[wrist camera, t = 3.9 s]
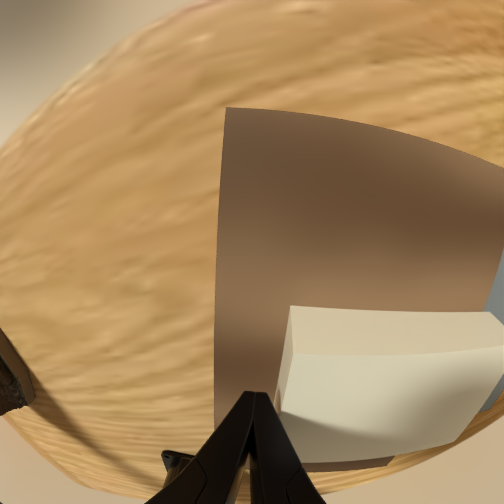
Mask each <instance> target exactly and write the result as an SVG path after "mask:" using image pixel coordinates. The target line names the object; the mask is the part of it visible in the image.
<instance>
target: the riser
mask: <svg viewBox="0 0 504 504" xmlns="http://www.w3.org/2000/svg"><path fill="white" fill-rule="evenodd" d="M503 249H504V168H502V167H499V166H497V165H495V164H493V163H490V162H488V161H485V160H483V159H481V158H478V157H476V156H473V155H470V154H468V153H465V152H462V151H460V150H457V149H454V148H451V147H448V146H445V145H442V144H439V143H436V142H433V141H430V140H427V139H423V138H420V137H416V136H413V135H409V134H406V133H402V132H398V131H394V130H390V129H386V128H382V127H377V126H373V125H368V124H364V123H359V122H354V121H348V120H343V119H337V118H331V117H325V116H318V115H311V114H304V113H296V112H287V111H277V110H265V109H251V108H230V107H226V114H225V125H224V137H223V150H222V164H221V179H220V195H219V213H218V232H217V255H216V283H215V323H214V428H215V430H216V428H217V427H218V426H219V424H220V423H221V422H222V420H223V419H224V418H225V416H226V415H227V414H228V412H229V411H230V410H231V408H232V407H233V405H234V404H235V403H236V401H237V400H238V399H239V397H240V396H241V394H242V393H243V392H244V391H255V392H266V393H268V395H269V397H270V399H271V401H272V403H273V405H274V399H275V394H276V389H277V383H278V378H279V372H280V367H281V361H282V355H283V349H284V343H285V337H286V331H287V324H288V318H289V311H290V305H292V306H305V307H319V308H335V309H353V310H376V311H406V312H483V309H484V307H485V304H486V302H487V299H488V296H489V294H490V291H491V288H492V285H493V282H494V279H495V276H496V273H497V270H498V267H499V263H500V260H501V256H502V253H503ZM394 457H395V456H388V457H382V458H374V459H365V460H355V461H343V462H321V463H302V465H303V466H302V467H304V469H305V471H306V472H333V471H348V470H359V469H368V468H375V467H382V466H387V464H388V463H389V462H390V461H391V460H392V459H393V458H394ZM245 469H248V470H250V465H249V454H248V458H247V461H246V465H245Z"/></svg>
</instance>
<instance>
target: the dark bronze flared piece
mask: <svg viewBox="0 0 504 504" xmlns="http://www.w3.org/2000/svg"><path fill="white" fill-rule="evenodd" d="M34 398H35V393H34V390H33V387H32V383H31V380H30V376H29V372H28V369H27V368H26V367H25V365H24V364H23V362H22V361H21V360H20V358H19V357H18V355H17V354H16V352H15V351H14V350H13V348H12V346H11V345H10V343H9V342H8V340H7V339H6V337H5V336H4V334H3V332H2V331H1V329H0V416H1V415H4V414H5V413H6V412H8V411H11V410H13V409H17V408H19V409H20V408H22V407H23V406H29V404H30V403H31V402H32V401H33V399H34Z"/></svg>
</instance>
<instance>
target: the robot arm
mask: <svg viewBox="0 0 504 504" xmlns="http://www.w3.org/2000/svg"><path fill="white" fill-rule="evenodd" d="M248 454H249V465H250V492H251V504H326V502H325V501H324V500H323V498H322V497H321V496H320V494H319V493H318V491H317V490H316V488H315V487H314V485H313V483H312V482H311V480H310V478H309V476H308V475H307V473H306V471H305V469H304V467H302V466H303V465H302V463H301V461H300V459H299V457H298V455H297V453H296V451H295V449H294V447H293V445H292V443H291V441H290V439H289V437H288V435H287V433H286V431H285V429H284V427H283V424H282V422H281V420H280V418H279V416H278V414H277V412H276V410H275V408H274V405H273V403H272V401H271V399H270V397H269V395H268V393H266V392H255V391H244V392H243V393H242V394H241V396H240V397H239V399H238V400H237V401H236V403H235V404H234V405H233V407H232V408H231V410H230V411H229V412H228V414H227V415H226V416H225V418H224V419H223V420H222V422H221V423H220V424H219V426H218V427H217V428H216V430H215V431H214V432H213V434H212V435H211V436H210V437H209V439H208V440H207V441H206V443H205V444H204V445H203V446H202V448H201V449H200V450H199V451H198V453H197V454H196V455H195V457H192V456H187V455H183V454H178V453H174V452H170V451H162V454H161V456H162V459H163V462H164V465H165V467H166V470H167V477H166V480H165V483H164V486H163V489H162V490H161V491H159V492H158V493H157V494H156V495H155V496H153V497H152V498H151V499H150V500H148V501H147V502H146V503H144V504H234V503H235V500H236V497H237V493H238V490H239V486H240V483H241V479H242V476H243V472H244V469H245V465H246V461H247V458H248ZM0 504H2V503H1V502H0Z"/></svg>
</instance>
